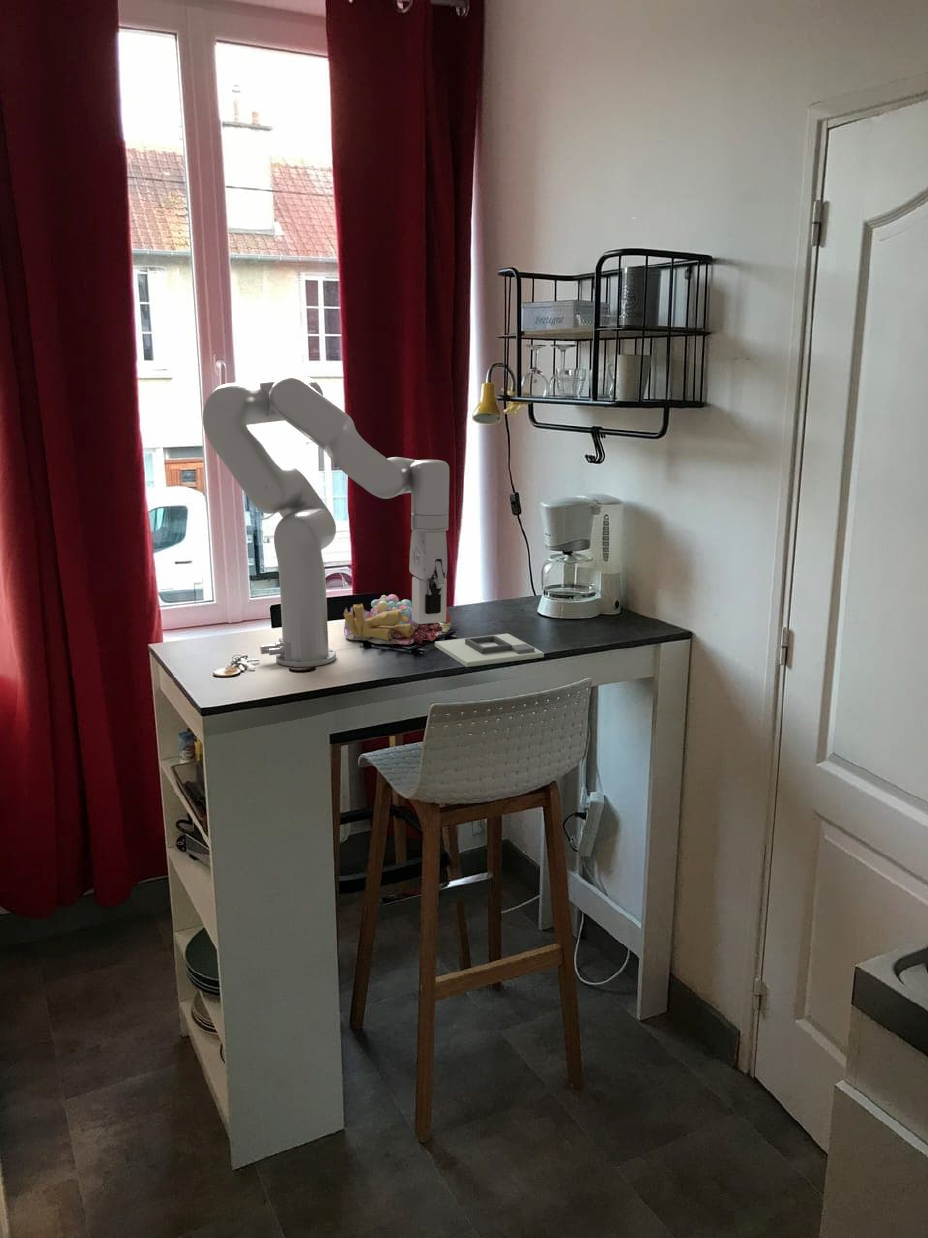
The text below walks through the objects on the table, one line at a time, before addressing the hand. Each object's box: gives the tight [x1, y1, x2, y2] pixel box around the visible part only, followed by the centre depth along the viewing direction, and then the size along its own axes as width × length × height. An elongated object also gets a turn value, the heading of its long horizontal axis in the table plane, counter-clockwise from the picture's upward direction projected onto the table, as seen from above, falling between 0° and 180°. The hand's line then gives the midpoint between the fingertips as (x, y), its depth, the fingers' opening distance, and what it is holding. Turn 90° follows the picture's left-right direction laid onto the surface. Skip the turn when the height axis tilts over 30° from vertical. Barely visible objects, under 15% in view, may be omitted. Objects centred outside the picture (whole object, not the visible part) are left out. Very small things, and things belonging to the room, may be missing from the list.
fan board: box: [434, 633, 545, 668], centre depth 212 cm, size 18×18×2 cm
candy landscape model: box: [343, 593, 452, 645], centre depth 228 cm, size 25×24×9 cm
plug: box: [411, 576, 448, 624], centre depth 199 cm, size 6×4×11 cm, turn 114°
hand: (428, 609), depth 200 cm, fingers closed on plug, 4 cm apart
